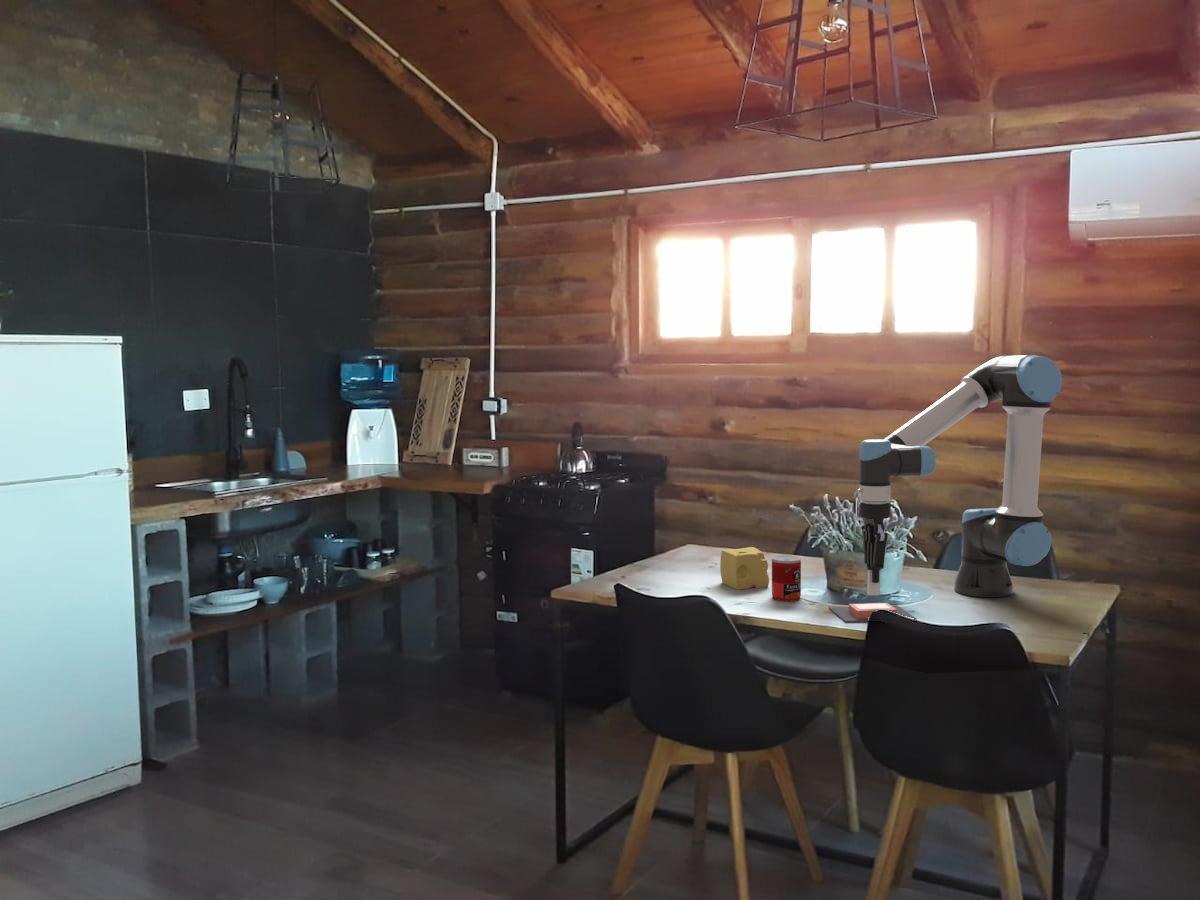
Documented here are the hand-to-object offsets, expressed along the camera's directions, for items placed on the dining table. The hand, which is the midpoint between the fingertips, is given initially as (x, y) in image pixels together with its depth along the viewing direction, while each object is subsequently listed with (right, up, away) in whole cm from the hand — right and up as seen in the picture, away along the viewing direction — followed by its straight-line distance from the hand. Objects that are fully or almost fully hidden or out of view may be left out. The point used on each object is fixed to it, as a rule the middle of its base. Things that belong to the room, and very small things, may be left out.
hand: (873, 594), depth 264 cm
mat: (0, -5, +2) cm, 6 cm away
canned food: (-18, -4, +21) cm, 28 cm away
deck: (-1, -4, +4) cm, 5 cm away
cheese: (-27, -3, +37) cm, 46 cm away
